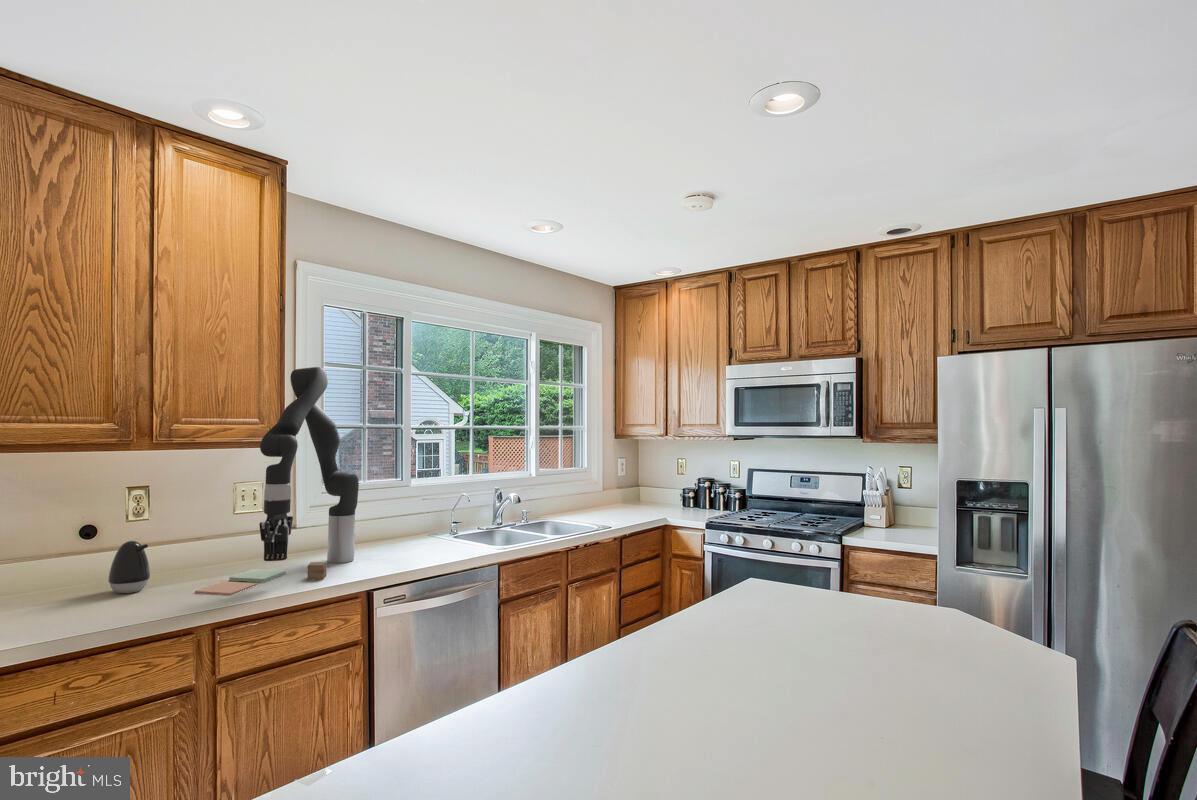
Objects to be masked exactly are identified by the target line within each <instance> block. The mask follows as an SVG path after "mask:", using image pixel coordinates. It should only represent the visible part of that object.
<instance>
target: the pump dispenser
mask: <svg viewBox="0 0 1197 800" xmlns="http://www.w3.org/2000/svg"><path fill="white" fill-rule="evenodd" d="M148 547H149V544H148V543H146V544H145V543H144V544H143V545H142V544H141V543H140V542H138V541H136V540H128V541H126V542H124V543H122V544H121V545H120V546H119V548H118V549H117V550H116V551H117V552H116V553H115V556H114V558H113V559H112V562H111V565H110V569H109V574H108V581H107V582H108V583H109V585H110V588H111V589H112V591H114V592H115V593H117V594H121V593H127V594H133V592H134V593H137V592H139V591H141V590H143V589H144V588H145V587H146V585H147V584H148V582H149V579H150V578H151V570H150V564H149V559H148V556H147V554H146V551H145V549H147V548H148Z"/></svg>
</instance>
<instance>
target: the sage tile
mask: <svg viewBox="0 0 1197 800" xmlns="http://www.w3.org/2000/svg"><path fill="white" fill-rule="evenodd" d="M284 574H285V575H286V574H287V570H280V569H264V568H263V569H261V568H259V569H258V568H252V569H249V570H247V571H243V572H241V573H237V574H235V575H231V576H229V578H228V579H229V580H228V582H239V581H247V582H246V583H258V582H264V583H266V581H267V582H269V581H271V579H272V580H274V578H275V579H277V578H279V576H280V577H282V576H285V575H284ZM281 575H282V576H281ZM276 577H277V578H276ZM268 580H269V581H268Z"/></svg>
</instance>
